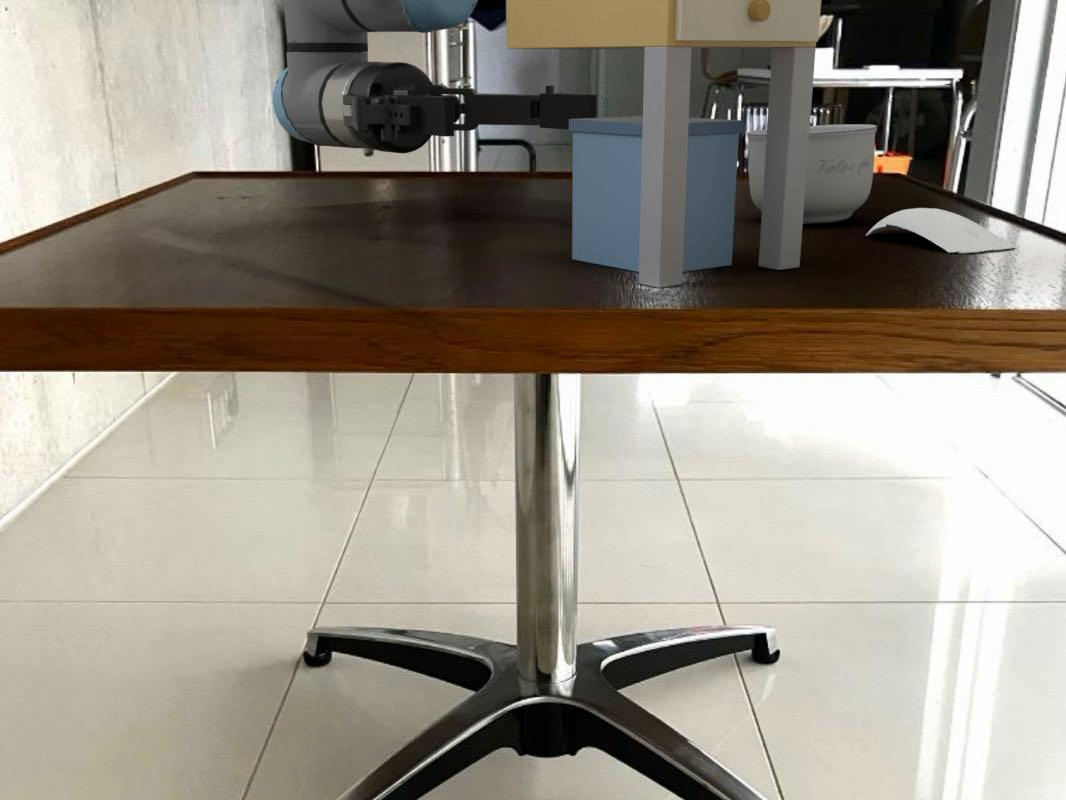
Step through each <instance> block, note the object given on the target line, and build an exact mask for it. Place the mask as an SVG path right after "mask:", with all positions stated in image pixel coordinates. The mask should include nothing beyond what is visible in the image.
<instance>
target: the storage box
mask: <svg viewBox="0 0 1066 800" xmlns="http://www.w3.org/2000/svg"><path fill="white" fill-rule="evenodd" d="M642 131H643V115H635V116H633V115H632V116H610V117H608V116H607V117H596V118H583V119H569V130H568V132H572V205H571V206H572V210H571V211H572V213H571V215H572V216H571V217H572V219H571V220H572V222H571V223H572V224H571V225H572V226H571V227H572V230H571V236H572V237H571V238H572V239H571V259H572V260H573V261H579V262H582V263H583V262H584V263H589V264H594V265H598V266H599V265H600V266H604V267H610V268H614V269H621V270H625V271H629V272H630V271H631V272H636V273H639V246H640V208H641V169H642ZM743 132H744V120H742V119H723V118H722V119H721V118H705V117H704V118H701V117H689V125H688V150H687V176H686V201H685V227H684V253H683V273H686V272H693V271H701V270H708V269H714V268H721V267H729V266H732V264H733V250H734V248H733V246H734V229H735V228H734V227H735V210H736V191H737V174H738V173H737V171H738V152H739V134H743Z"/></svg>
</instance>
